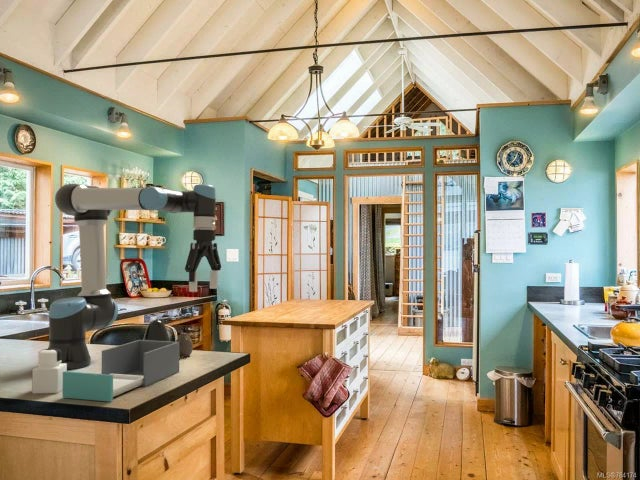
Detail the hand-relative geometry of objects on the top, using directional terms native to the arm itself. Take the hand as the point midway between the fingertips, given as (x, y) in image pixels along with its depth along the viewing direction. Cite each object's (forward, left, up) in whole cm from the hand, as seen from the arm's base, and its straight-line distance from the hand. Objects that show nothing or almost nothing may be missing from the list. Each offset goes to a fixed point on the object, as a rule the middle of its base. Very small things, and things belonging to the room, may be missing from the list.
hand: (203, 290), depth 190 cm
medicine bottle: (-29, -40, -27) cm, 56 cm away
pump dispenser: (-21, +4, -27) cm, 35 cm away
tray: (-12, -35, -27) cm, 46 cm away
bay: (-12, -19, -27) cm, 35 cm away
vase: (-16, +15, -27) cm, 35 cm away
